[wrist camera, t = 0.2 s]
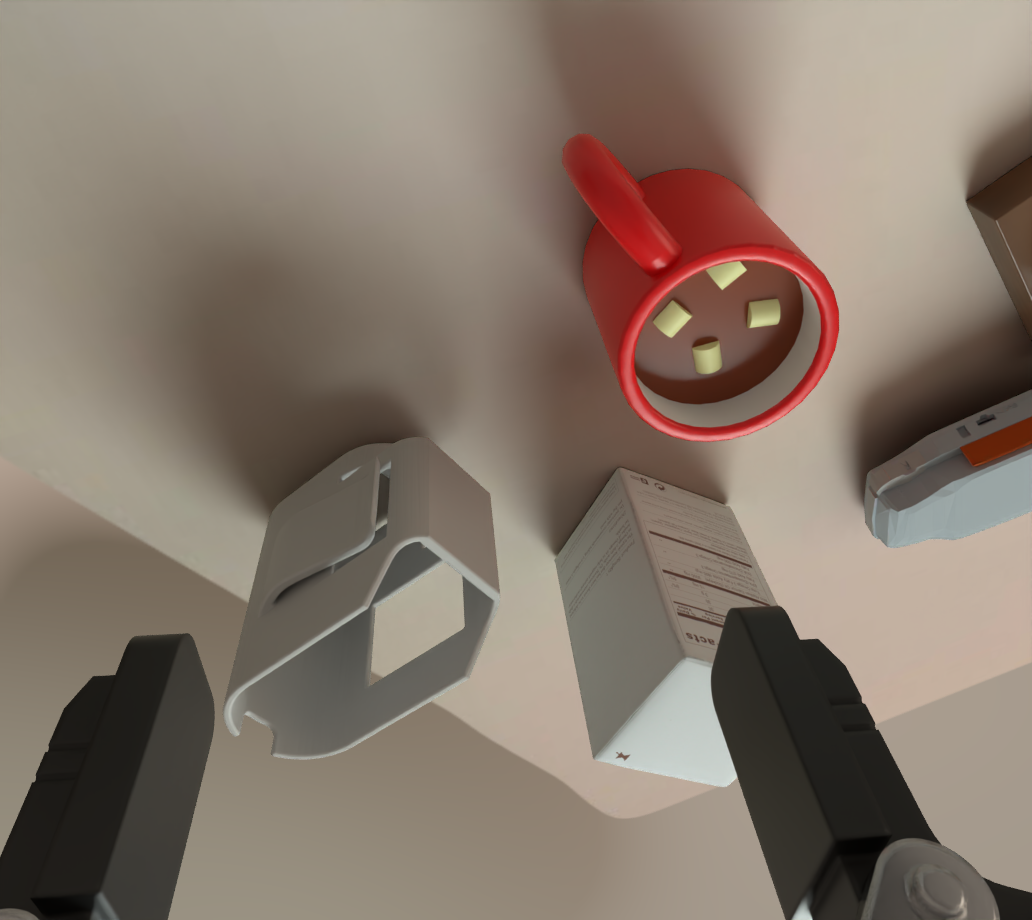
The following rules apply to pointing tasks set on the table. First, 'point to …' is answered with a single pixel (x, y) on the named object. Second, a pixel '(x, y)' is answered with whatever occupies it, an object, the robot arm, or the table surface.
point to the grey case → (955, 478)
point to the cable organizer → (358, 597)
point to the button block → (1009, 233)
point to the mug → (699, 298)
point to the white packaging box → (655, 623)
